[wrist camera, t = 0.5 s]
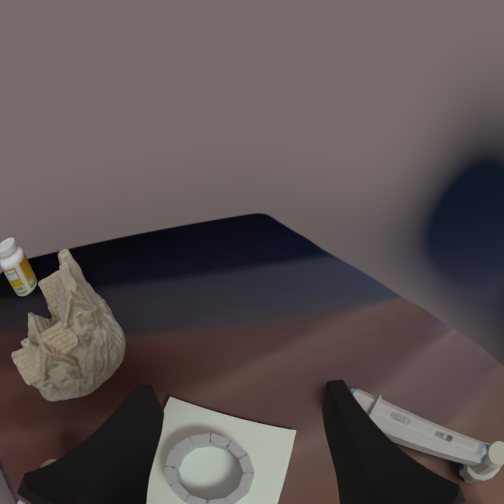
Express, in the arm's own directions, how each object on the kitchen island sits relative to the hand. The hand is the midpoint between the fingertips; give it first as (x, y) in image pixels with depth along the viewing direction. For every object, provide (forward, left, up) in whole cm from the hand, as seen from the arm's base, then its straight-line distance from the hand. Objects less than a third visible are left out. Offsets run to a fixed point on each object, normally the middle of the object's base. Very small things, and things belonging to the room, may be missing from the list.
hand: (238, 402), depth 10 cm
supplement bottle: (+11, +44, -19) cm, 49 cm away
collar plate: (-2, +2, -19) cm, 19 cm away
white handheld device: (+4, -21, -19) cm, 29 cm away
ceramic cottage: (+6, +25, -19) cm, 32 cm away
